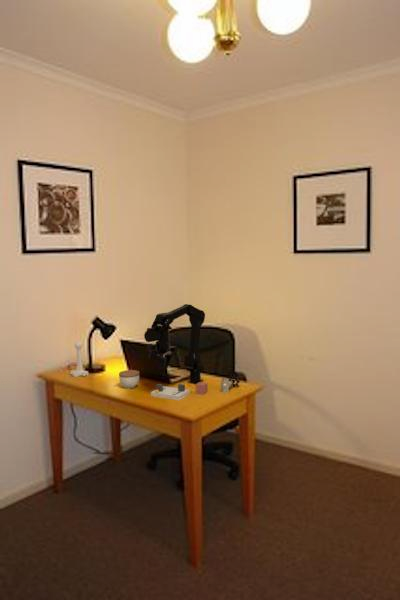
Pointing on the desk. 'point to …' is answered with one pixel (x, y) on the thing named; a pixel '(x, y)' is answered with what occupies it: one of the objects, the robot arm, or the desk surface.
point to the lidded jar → (129, 378)
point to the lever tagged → (159, 387)
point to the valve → (228, 383)
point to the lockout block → (201, 388)
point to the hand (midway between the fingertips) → (164, 369)
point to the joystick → (79, 362)
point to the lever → (181, 387)
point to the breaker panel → (170, 393)
